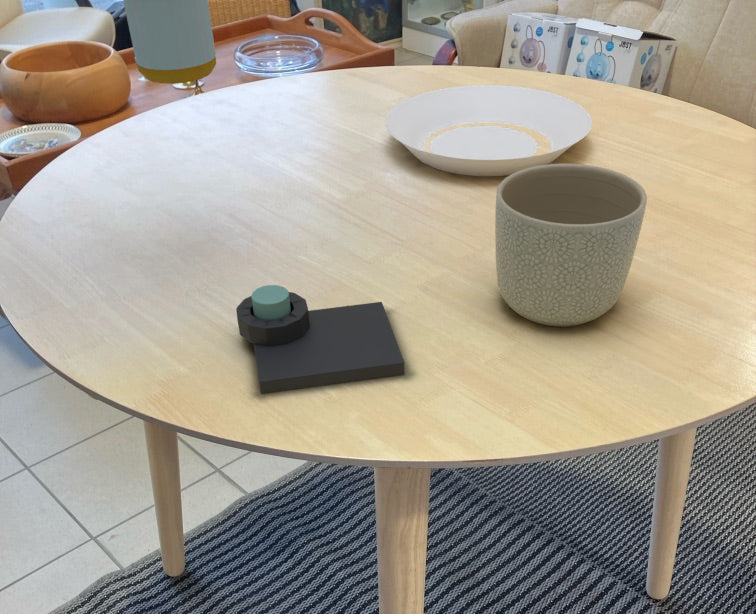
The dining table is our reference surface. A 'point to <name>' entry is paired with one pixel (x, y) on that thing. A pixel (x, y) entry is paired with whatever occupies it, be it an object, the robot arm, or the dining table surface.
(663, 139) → the dining table surface
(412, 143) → the bowl
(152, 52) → the bottle
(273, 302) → the button
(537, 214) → the planter
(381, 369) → the scale
